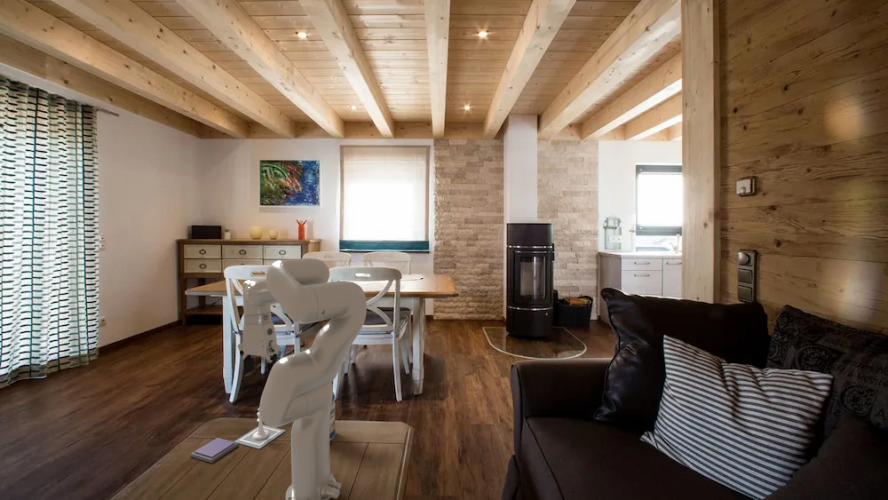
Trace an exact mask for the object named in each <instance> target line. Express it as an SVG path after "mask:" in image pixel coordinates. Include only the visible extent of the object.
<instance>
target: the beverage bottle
mask: <svg viewBox="0 0 888 500" xmlns="http://www.w3.org/2000/svg"><path fill="white" fill-rule="evenodd" d="M333 381H334V380H333ZM333 381H332V386H334V385H333ZM335 399H336V396H335V393H334V392H333V396H332V402H331V408H330V419H329V438H330V441H331V440H333V439H334V438H335V436H336V402H335Z"/></svg>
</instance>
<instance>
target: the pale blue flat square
mask: <svg viewBox="0 0 888 500" xmlns="http://www.w3.org/2000/svg"><path fill="white" fill-rule="evenodd" d="M263 429H264V430H267V431H268V432H269V435H268V436H267V437H266V438H264V439H262V440H254V439H253V434H254V433H256V432H257V431H258V426H256V427H255V428H253V429H252V430H250V431H249V432H247V433H245V434H244V435H242V436H241V437H239V438H237V439H236V440H234V441H233V442H236V443H238V445H241V446H247V447H249V448H254V449H255V450H261V449H262V448H264V447H265V446H266V445H268V444H269V443H271V442H272V441H274V440H275V439H277V438H278V437H280V436H282V434H284V433H285V432H286V431H287V430H286V429H282V428H279V427H276V428H272V427H269V426H267V425H266V424H263Z"/></svg>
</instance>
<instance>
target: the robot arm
mask: <svg viewBox="0 0 888 500" xmlns="http://www.w3.org/2000/svg"><path fill="white" fill-rule="evenodd" d="M266 271H267V272H266V275H265V278H258V279H257V278H256V279H248V280H245V281H243V283H242V299H243V300H242V301H243V303H242V304H243V305H242V306H243V320H244V321H243V327H242V329H243V330H242V342H241V343H239V344H237V348H238V351H239V355H240V356H241V360H243V362H242V363H243V373H245V374H246V373H249V372H251V371H253V370H255V368H254V367H255V365H254V357H253V356H258V357H265V359H266V361H267V362H266V375H267V376H268V377H267V379H266V383H265V386H264V388H263V391H262V393H261V397H260V402H259V407H260V416H261V419H262V423H263V424H264V425H266V426H269V427H272V428H279V427H283V426H286V425H288V424H290V423H293V424H292V426H291V431H290V453H291V457H290V458H291V459H290V460H291V462H290V463H291V484H290V485H289V486H288V488H287V490H286V492H285V500H330V499H331V498H333V499H338V498H339V496H340V494H341V493H340V492H341V491H340V489H341V487H342V483H340V482H337V481H336V478H335V476H334V473H332V472H331V454H330V453H331V451H330V447H331V446H330V441H331V440H330V438H329V419H330V408H331V402H332V396H333V393H334V387H333V386H334V385H333V386H332V381H334V380H335V379H336V378H337V376H338V374H339V372H340V370H341V367H342V365H343V363H344V361H346V357H347V356H348V353H349V350H350V349H351V347H352V345H353V343H354V342H355V340H356V338H357V337H358V335H359V334H360V332H361V330H362V328H363V325H364V324H365V320H366V317H367V309H368V307H367V304H368V303H367V302H368V301H367V298H366V293H365V291H364V289H363V288H362V287H361V285H359V284H358V283H357V282H356V283H355V282H353V281H349V280H341V281H339V280H337V281H329V278H330V275H331V273H330V269H329V267H328V265H327V264H326V263H325V262H324V261H323V260H320V259H318V258H311V257H310V258H309V257H308V258H305V257H304V258H293V259H292V258H289V259H280V260H277V261H275V262H273V263H272V264H271V265H270V266H269V267H268V269H267V270H266ZM328 281H329V282H328ZM275 304H278V305H279V306H280V307H281V308H282V310H283V311H284V312H285V313H286V315H287V316H288V317H289V319H291V320H292V321H293V322H295V323H297V324H300V325H304V324H305V325H307V324H313V323H317V322H321V321H325V320H329V321H328V322H326V323H325V324H324V325H323V326H322V328H320V329H319V330H318V332H317V333H316V336H315V338H314V340H313V343H312V344H311V346H310V347H309V348H308V349H305V350H304V351H300V352H296V353H292V354H290V355H286V356H283V357H282V358H280V359H279V357H281V352H282V350H283V348H282V347H281V346H280V345H279V344H278V341H277V334H276V333H277V331H276V328H275V324H274V322H273V321H272V318H273V316H272V312H271V311H272V309H271V308H272V307H271V306H272V305H275Z"/></svg>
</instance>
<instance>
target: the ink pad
mask: <svg viewBox="0 0 888 500" xmlns="http://www.w3.org/2000/svg"><path fill="white" fill-rule="evenodd" d="M237 447H239V444H238V443H236V442H234V441H233V440H229V439H226V438H225V439H224V438H221V437H216V438H215V439H213V440H211V441H210V442H208V443H206V444H204V445H203V446H201V447H199V448H197V449H196V450H194V451H192V452H190V455H189V457H191V458H194V459H197V460H199V461H203V462H206V463H210V464H212V463H214V462H215V461H217V460H219V459H221V458H222V457H224V456H225V455H226V454H228V453H229V452H231V451H233V450H234V449H235V448H237Z"/></svg>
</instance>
